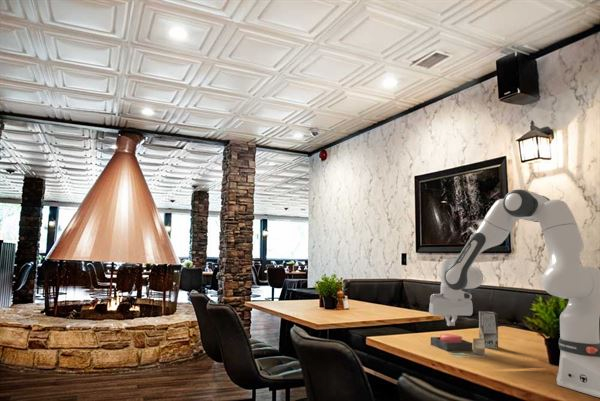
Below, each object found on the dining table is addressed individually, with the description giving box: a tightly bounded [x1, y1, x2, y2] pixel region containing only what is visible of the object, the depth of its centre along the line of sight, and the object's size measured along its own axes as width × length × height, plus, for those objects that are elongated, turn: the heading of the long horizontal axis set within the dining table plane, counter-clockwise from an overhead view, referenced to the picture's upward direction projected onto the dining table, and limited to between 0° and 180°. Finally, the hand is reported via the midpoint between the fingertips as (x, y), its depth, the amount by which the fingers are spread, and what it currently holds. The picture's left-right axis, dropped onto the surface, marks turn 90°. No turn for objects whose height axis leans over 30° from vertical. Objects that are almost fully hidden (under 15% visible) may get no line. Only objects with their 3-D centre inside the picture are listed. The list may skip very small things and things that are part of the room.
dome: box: [439, 333, 463, 343], centre depth 183 cm, size 9×9×4 cm
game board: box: [430, 336, 490, 358], centre depth 177 cm, size 24×16×4 cm, turn 15°
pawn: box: [472, 338, 486, 357], centre depth 172 cm, size 4×4×6 cm
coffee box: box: [478, 310, 499, 350], centre depth 191 cm, size 9×6×16 cm
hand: (450, 325), depth 184 cm, fingers closed
